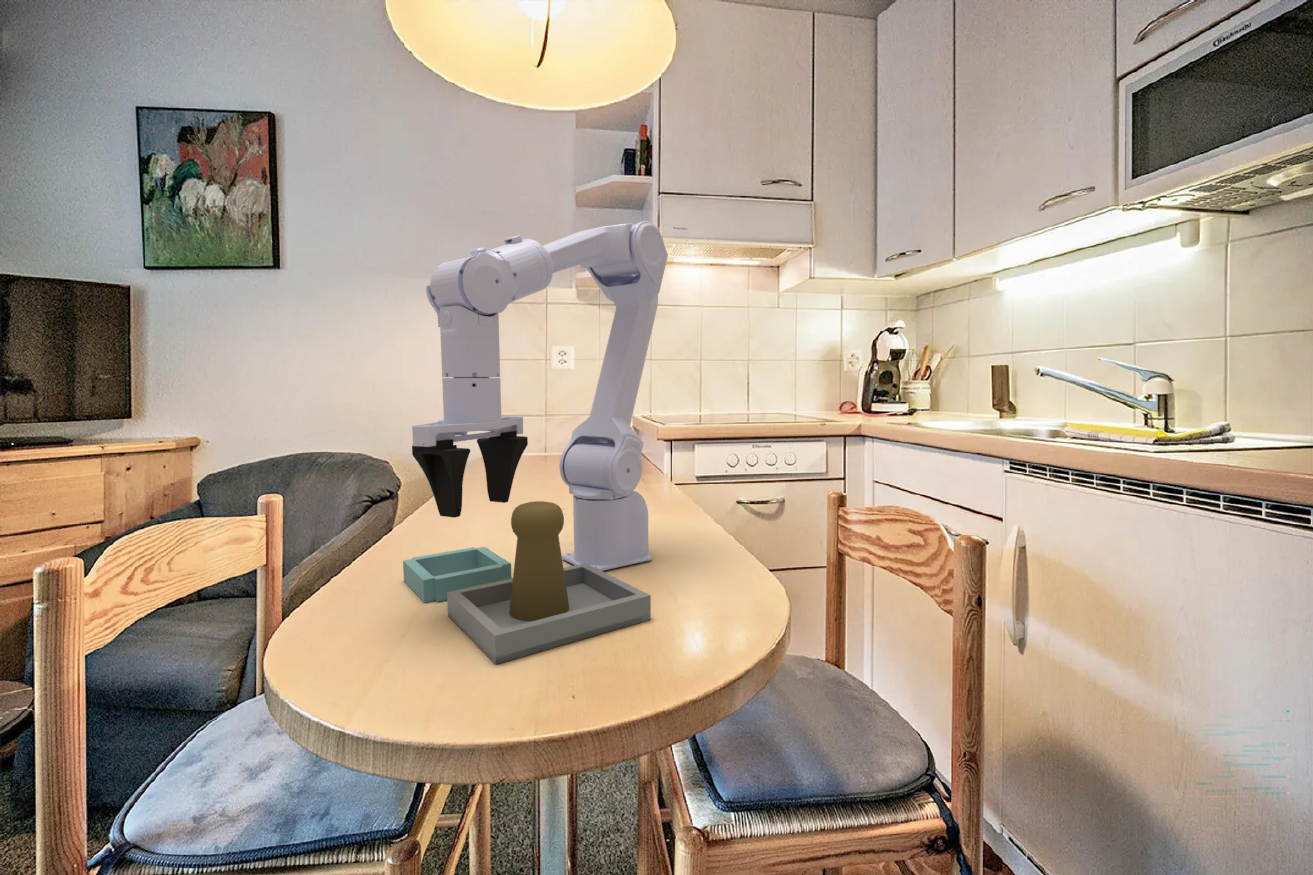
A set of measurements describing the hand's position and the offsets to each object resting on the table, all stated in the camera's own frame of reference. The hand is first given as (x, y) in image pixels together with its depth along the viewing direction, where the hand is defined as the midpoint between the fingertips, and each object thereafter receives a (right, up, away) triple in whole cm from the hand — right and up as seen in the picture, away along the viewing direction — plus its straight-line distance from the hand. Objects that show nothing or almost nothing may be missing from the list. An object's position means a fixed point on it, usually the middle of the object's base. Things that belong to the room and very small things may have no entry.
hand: (475, 508), depth 63 cm
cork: (+7, -10, -2) cm, 13 cm away
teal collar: (-5, -10, +8) cm, 13 cm away
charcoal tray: (+8, -11, -3) cm, 14 cm away
